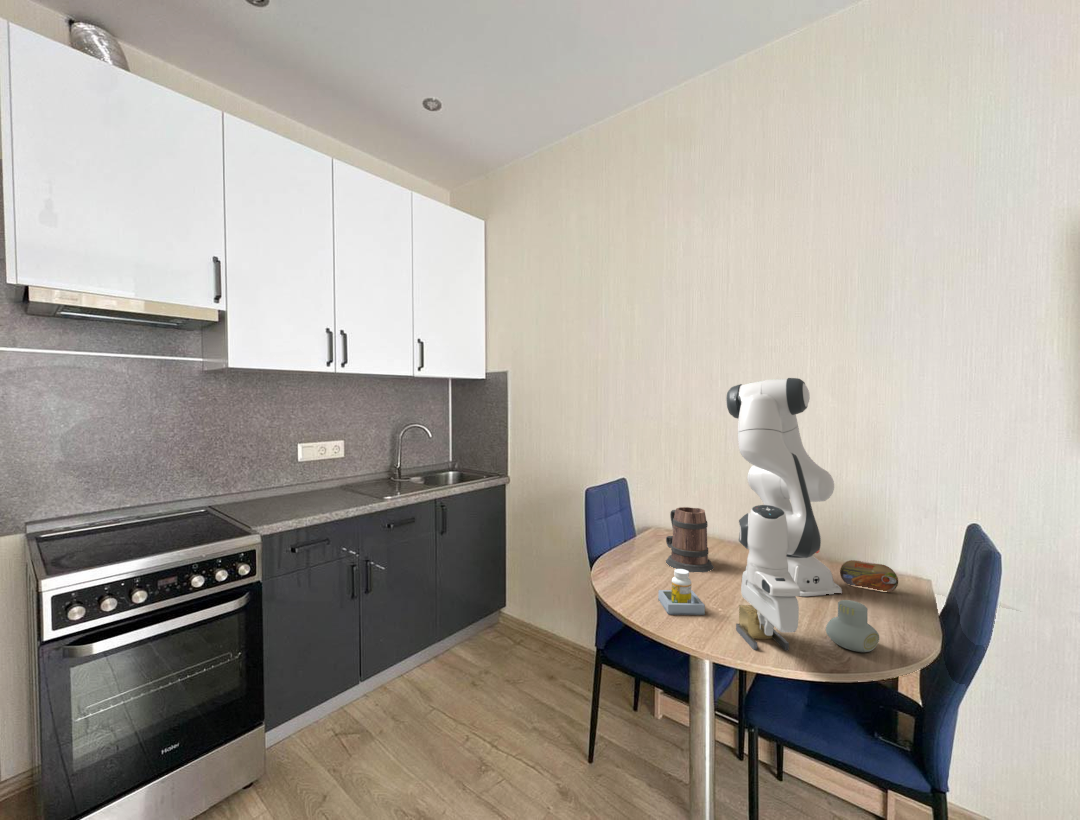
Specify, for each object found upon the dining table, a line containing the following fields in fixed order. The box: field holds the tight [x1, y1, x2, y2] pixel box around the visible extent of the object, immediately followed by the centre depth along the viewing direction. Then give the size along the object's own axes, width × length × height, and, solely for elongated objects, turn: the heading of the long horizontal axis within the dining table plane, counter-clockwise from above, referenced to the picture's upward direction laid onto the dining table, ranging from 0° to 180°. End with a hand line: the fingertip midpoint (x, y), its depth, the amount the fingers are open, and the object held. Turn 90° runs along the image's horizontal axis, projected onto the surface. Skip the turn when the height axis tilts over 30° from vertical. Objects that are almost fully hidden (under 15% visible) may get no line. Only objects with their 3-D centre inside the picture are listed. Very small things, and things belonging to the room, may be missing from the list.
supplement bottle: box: [671, 569, 692, 603], centre depth 130 cm, size 5×5×10 cm
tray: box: [657, 589, 706, 616], centre depth 130 cm, size 10×10×3 cm
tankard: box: [665, 506, 715, 573], centre depth 170 cm, size 24×17×20 cm
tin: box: [839, 559, 899, 593], centre depth 146 cm, size 15×3×8 cm, turn 56°
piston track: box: [735, 623, 790, 652], centre depth 116 cm, size 10×18×2 cm, turn 0°
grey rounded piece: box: [825, 599, 880, 653], centre depth 110 cm, size 11×8×10 cm
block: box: [738, 604, 773, 640], centre depth 115 cm, size 6×5×6 cm
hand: (766, 632), depth 110 cm, fingers closed
